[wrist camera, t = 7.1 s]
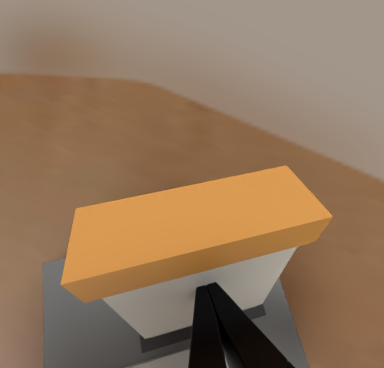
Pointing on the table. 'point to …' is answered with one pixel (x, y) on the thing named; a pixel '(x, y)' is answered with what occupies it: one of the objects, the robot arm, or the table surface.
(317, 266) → the table surface
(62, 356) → the box
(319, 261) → the table surface
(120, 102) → the table surface
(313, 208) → the handle
